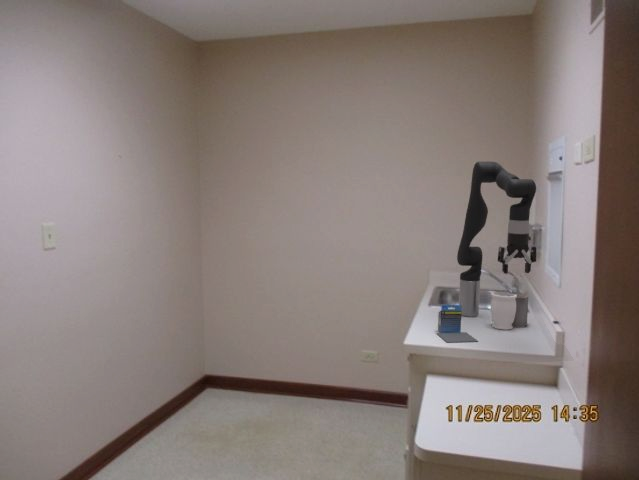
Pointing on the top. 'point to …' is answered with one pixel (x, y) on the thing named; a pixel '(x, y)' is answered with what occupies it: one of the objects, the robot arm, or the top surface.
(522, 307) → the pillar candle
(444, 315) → the label tape box
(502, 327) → the jar
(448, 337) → the mat
